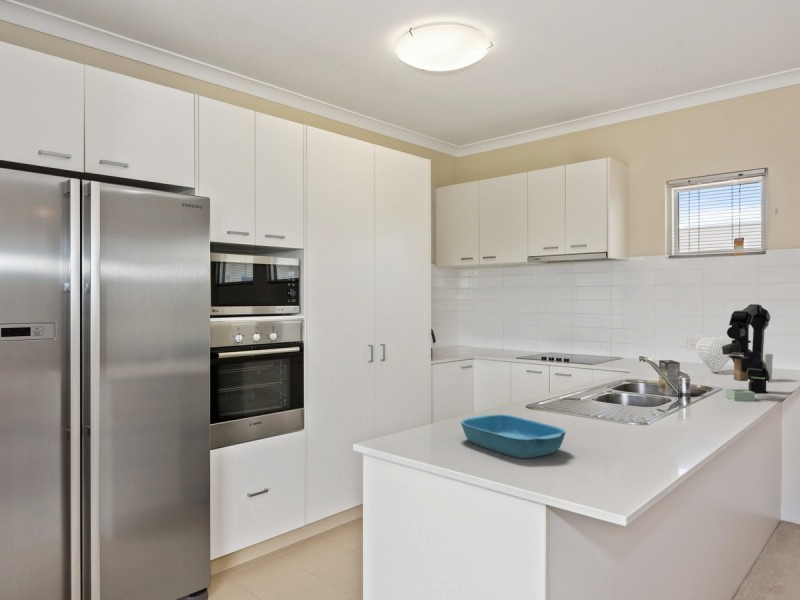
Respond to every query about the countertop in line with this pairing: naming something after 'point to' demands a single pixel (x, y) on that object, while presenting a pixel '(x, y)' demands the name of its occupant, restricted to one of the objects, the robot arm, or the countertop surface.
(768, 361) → the skincare box
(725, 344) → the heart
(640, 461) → the countertop surface
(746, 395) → the socket
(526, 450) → the casserole dish
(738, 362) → the peg
